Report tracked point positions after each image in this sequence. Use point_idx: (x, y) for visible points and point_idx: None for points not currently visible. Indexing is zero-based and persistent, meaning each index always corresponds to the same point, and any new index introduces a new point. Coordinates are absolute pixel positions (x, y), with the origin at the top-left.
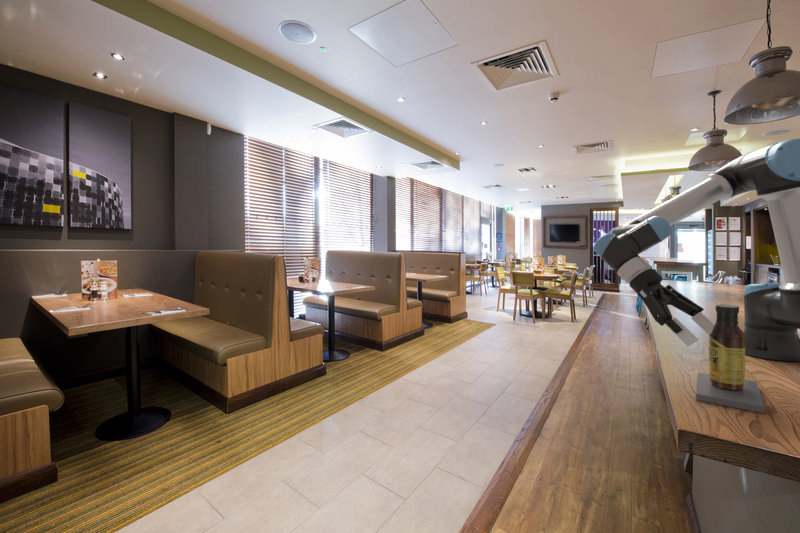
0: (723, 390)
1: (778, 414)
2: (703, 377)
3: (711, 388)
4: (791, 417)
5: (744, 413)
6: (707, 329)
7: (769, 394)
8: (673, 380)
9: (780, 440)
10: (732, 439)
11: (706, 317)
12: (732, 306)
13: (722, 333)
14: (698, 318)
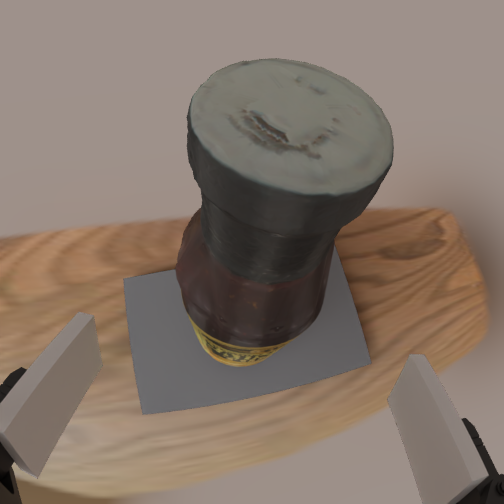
0: None
1: None
2: (190, 393)
3: (292, 351)
4: None
5: (362, 274)
6: (77, 385)
7: (170, 256)
8: (234, 458)
9: (427, 220)
10: (475, 265)
11: (22, 387)
12: (323, 80)
13: (326, 262)
14: (35, 436)
